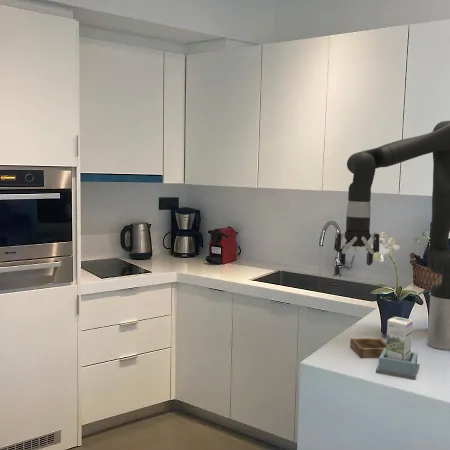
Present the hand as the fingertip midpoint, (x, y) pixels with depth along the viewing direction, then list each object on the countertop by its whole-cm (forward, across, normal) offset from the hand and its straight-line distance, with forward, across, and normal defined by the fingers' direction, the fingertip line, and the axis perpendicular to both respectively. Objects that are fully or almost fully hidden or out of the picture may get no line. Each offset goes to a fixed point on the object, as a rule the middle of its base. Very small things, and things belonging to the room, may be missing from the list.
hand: (355, 264), depth 179 cm
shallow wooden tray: (+28, +5, -4) cm, 29 cm away
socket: (+28, +8, -19) cm, 35 cm away
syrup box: (+27, +8, -19) cm, 34 cm away
